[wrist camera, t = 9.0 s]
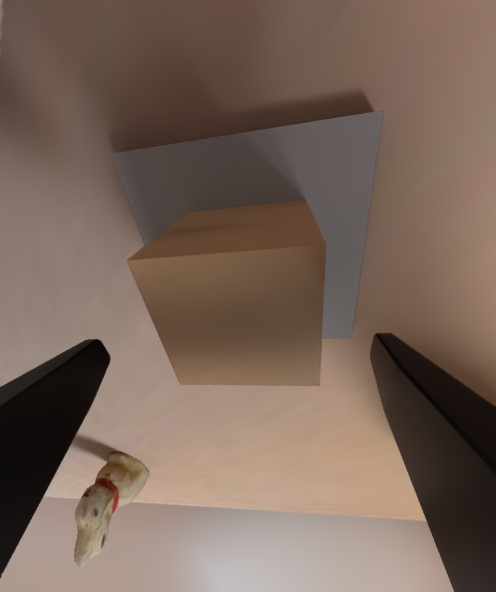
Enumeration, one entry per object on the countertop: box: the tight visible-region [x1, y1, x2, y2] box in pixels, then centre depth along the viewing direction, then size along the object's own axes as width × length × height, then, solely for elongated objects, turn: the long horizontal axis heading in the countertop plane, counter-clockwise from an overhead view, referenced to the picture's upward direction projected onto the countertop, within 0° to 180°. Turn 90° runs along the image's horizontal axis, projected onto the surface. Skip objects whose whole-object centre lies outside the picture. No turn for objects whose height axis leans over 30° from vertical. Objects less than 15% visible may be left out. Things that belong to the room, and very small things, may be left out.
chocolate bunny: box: [74, 452, 149, 567], centre depth 29 cm, size 6×8×10 cm
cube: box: [127, 199, 326, 386], centre depth 11 cm, size 6×6×6 cm
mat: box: [111, 110, 384, 338], centre depth 14 cm, size 12×12×1 cm
